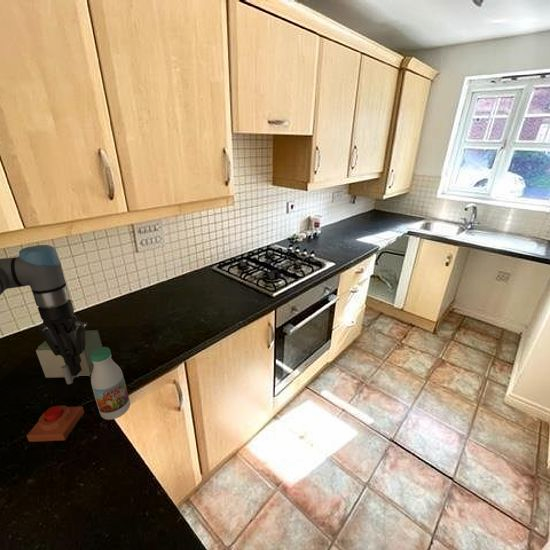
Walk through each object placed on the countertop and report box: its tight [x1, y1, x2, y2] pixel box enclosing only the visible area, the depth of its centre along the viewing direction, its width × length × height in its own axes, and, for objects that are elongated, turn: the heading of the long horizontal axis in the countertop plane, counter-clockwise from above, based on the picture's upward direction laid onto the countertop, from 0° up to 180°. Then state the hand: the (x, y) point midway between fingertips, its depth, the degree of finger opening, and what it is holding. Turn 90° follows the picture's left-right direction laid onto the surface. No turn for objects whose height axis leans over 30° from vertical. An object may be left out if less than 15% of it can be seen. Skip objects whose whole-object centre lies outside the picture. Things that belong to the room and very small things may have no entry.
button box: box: [26, 405, 85, 443], centre depth 80 cm, size 9×9×4 cm
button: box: [43, 405, 62, 422], centre depth 79 cm, size 4×4×2 cm
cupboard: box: [37, 329, 103, 379], centre depth 100 cm, size 14×9×12 cm, turn 92°
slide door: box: [35, 348, 91, 385], centre depth 92 cm, size 14×7×10 cm, turn 92°
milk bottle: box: [90, 346, 131, 421], centre depth 82 cm, size 8×8×20 cm
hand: (76, 372), depth 90 cm, fingers closed
